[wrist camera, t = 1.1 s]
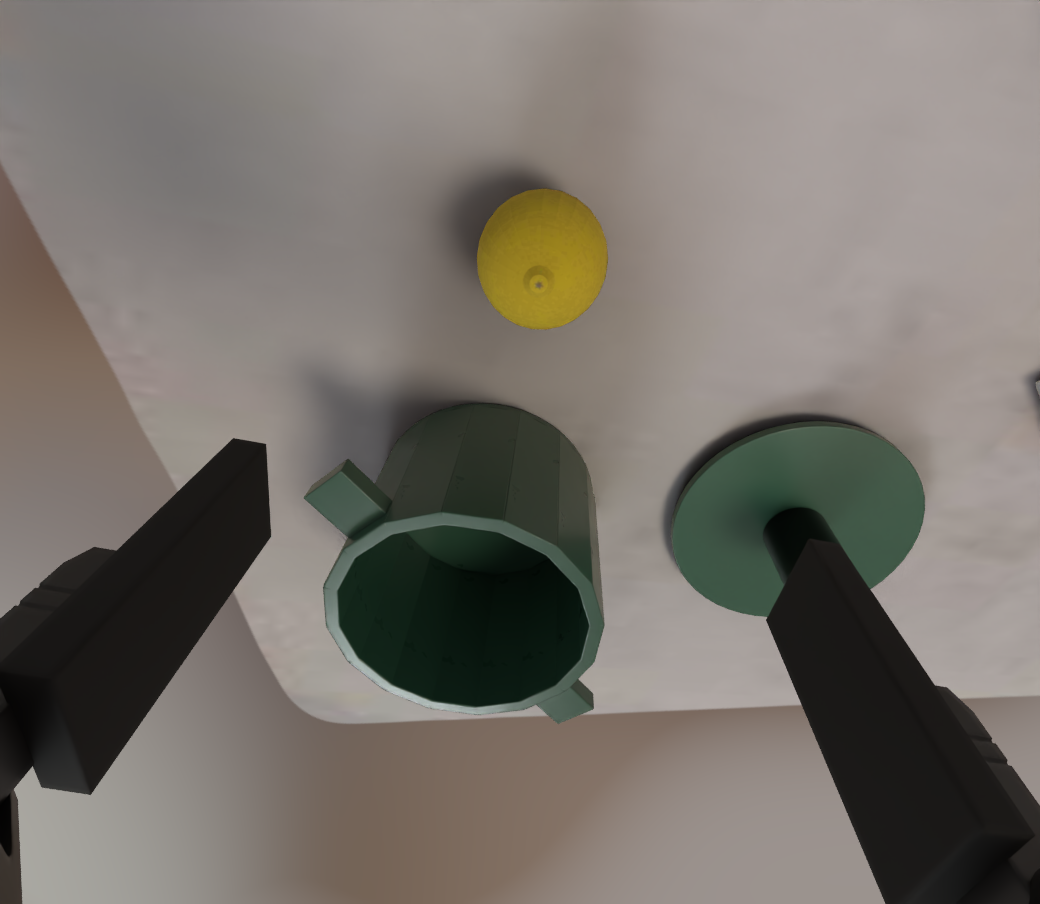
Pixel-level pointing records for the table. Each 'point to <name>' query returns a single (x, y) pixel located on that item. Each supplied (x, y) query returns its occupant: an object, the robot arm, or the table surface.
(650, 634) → the table surface
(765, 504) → the lid
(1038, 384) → the hard drive
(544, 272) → the lemon
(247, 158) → the table surface
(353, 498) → the pot
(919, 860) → the robot arm
